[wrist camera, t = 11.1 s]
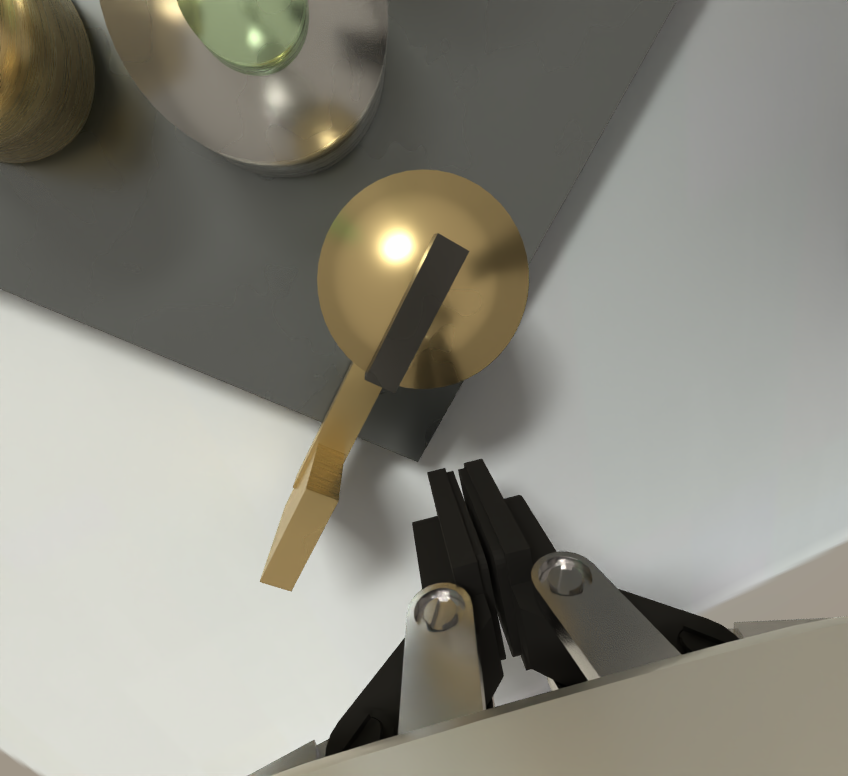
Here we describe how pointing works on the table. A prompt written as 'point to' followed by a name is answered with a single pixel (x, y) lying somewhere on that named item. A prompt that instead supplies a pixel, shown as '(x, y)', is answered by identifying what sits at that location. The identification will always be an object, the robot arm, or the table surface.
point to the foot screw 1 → (42, 78)
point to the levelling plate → (268, 236)
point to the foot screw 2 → (402, 320)
